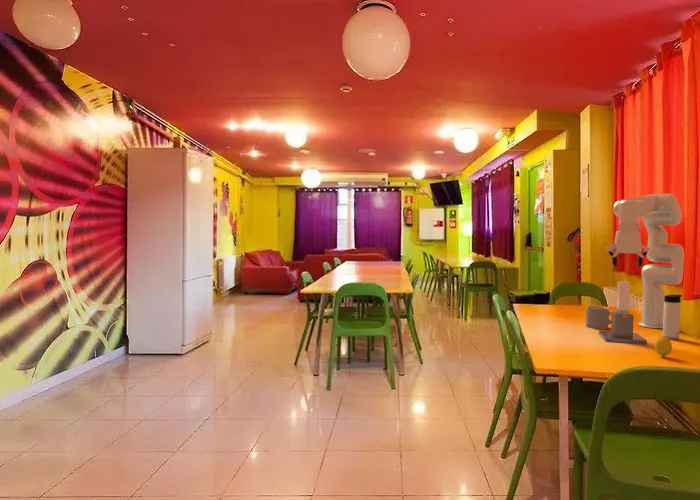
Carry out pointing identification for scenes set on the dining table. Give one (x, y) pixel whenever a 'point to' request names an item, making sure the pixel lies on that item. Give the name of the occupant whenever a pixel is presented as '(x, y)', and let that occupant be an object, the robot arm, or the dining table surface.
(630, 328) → the post stand
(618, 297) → the steel post
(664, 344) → the lemon
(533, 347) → the dining table surface
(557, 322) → the dining table surface
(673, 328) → the travel mug
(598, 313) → the coffee mug
